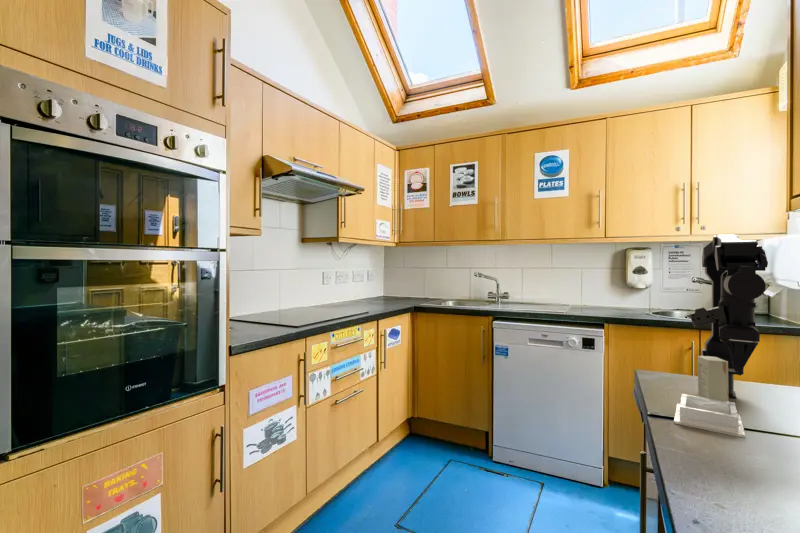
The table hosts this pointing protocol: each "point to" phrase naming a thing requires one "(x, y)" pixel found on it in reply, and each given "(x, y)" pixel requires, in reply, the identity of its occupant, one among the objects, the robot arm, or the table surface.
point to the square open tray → (709, 415)
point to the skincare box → (713, 378)
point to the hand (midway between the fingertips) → (736, 367)
